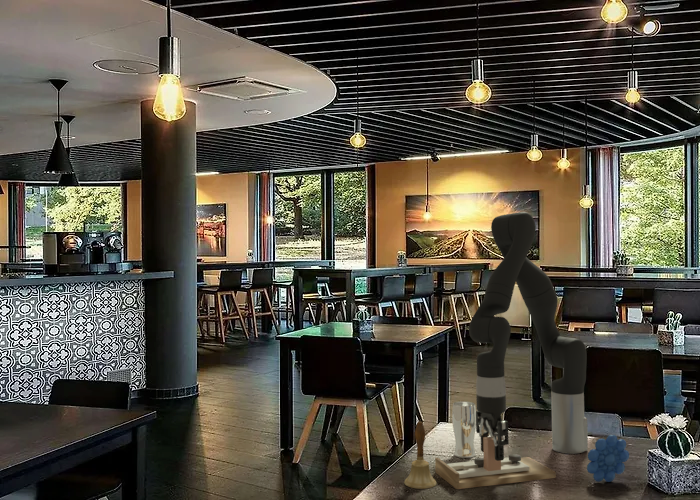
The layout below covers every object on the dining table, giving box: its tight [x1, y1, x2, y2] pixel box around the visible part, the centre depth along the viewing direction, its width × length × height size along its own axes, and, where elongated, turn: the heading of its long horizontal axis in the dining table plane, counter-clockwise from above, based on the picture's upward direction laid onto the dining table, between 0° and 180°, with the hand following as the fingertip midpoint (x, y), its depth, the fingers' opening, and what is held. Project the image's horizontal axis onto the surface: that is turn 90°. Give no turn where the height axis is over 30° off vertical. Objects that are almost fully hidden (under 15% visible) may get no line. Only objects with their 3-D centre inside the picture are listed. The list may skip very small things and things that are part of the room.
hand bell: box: [403, 420, 437, 490], centre depth 181 cm, size 8×8×16 cm
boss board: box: [434, 453, 557, 490], centre depth 187 cm, size 28×14×4 cm, turn 105°
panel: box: [446, 436, 530, 478], centre depth 186 cm, size 21×9×9 cm, turn 105°
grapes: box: [586, 434, 630, 483], centre depth 181 cm, size 12×7×12 cm, turn 101°
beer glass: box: [451, 400, 477, 459], centre depth 205 cm, size 7×7×15 cm
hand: (492, 455), depth 183 cm, fingers open, 7 cm apart
